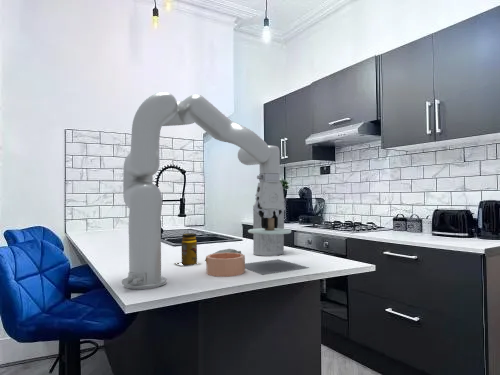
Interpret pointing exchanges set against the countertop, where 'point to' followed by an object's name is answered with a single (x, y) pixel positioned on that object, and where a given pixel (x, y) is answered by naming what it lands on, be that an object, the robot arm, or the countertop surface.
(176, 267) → the countertop surface
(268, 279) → the countertop surface
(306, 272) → the countertop surface
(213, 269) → the bowl
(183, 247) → the condiment
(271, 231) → the lid
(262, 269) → the mat
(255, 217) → the swing top bottle
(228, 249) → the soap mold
